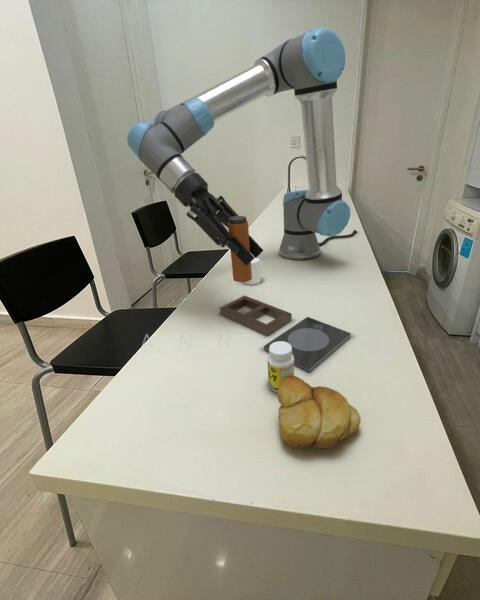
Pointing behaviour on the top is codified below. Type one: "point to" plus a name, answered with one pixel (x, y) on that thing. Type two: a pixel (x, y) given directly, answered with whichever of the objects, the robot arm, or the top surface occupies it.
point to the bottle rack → (256, 315)
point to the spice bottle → (241, 232)
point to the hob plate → (311, 342)
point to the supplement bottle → (279, 363)
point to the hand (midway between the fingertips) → (255, 257)
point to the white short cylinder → (255, 271)
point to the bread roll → (314, 414)
